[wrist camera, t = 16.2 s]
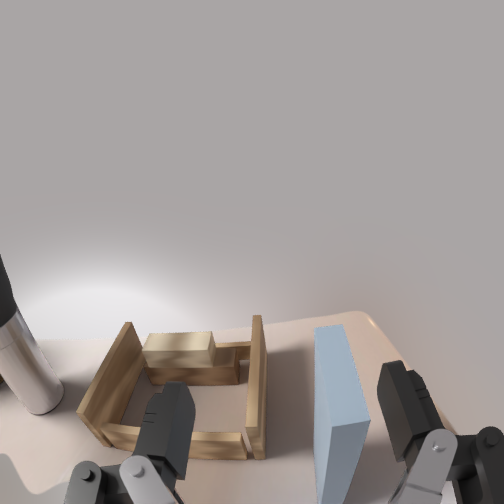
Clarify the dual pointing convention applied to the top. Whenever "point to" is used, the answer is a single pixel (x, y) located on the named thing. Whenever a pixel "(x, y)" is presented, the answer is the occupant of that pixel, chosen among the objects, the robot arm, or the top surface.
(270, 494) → the top surface
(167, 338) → the offcut stack
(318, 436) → the panel
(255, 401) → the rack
